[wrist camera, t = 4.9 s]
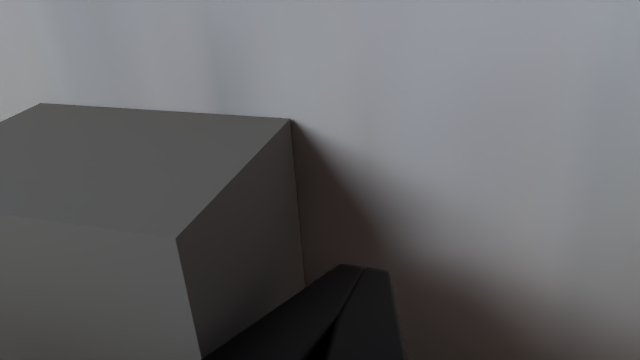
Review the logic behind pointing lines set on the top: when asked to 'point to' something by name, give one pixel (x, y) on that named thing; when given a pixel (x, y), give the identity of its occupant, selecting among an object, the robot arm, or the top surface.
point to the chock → (142, 231)
